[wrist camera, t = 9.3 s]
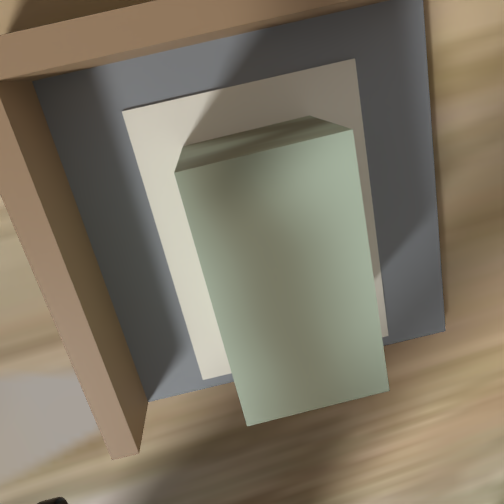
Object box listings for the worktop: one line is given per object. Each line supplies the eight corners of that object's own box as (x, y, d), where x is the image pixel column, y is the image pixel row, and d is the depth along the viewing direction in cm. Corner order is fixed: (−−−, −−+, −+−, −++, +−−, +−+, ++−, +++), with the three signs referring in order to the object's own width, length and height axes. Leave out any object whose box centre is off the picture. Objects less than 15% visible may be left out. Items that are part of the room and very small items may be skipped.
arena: (438, 323, 20) (483, 370, 17) (127, 398, 20) (112, 459, 17) (412, -38, 15) (468, -71, 12) (-4, 56, 15) (-62, 49, 12)
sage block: (309, 115, 16) (352, 129, 11) (343, 314, 19) (389, 390, 14) (183, 146, 16) (174, 172, 11) (236, 340, 19) (247, 426, 14)
